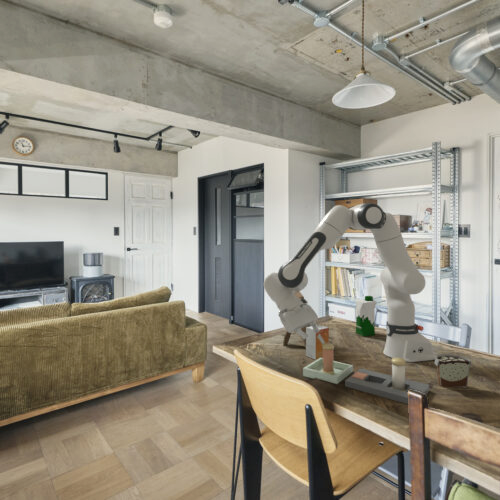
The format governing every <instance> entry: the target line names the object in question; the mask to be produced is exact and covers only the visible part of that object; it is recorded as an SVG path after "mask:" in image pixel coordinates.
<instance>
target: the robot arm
mask: <svg viewBox="0 0 500 500" xmlns="http://www.w3.org/2000/svg"><path fill="white" fill-rule="evenodd" d="M349 229H350V230H353V231H366V230H369V231H370V232H371V233H372V235H373V238H374V241H375V245H376V249H377V251H378V254H379V259H380V260H381V261H382V262H383V263H384V265H385V266H386V267H384V268H383V269H382V270H381V272H380V275H379V277H380V281H381V283H382V285H383V288H384V293H385V298H386V302H387V304H386V305H387V321H386V324H385V325H386V326H385V332H386V333H385V334H386V337H385V338H386V340H385V345H384V349H383V350H382V351H383V354H384V356H386V357H389V358H391V359H392V358H395V357H398V358H403V359H405V360H406V362H407V363H415V362H423V361H424V362H425V361H432V360H433V361H435V359H436V357H437V356H438V355H439V353H437V352H436V351H435V350H434V346H433V343H432V341H430V340H429V339H428V338H427V337H425V335H424V334H422V333H421V332H423V331H424V330H425V329H424V326H422V325H418V324H417V323H415V322H416V319H415V317H416V316H415V315H416V314H415V313H416V310H415V309H416V306H415V304H414V302H413V301H412V297H411V295H418V294H420V293H421V292H422V291H423V290H424V289H425V287H426V279H425V276H424V275H423V274H422V273H421V271H419V269H418V268H417V266H416V265H415V263H414V261H413V260H412V257H411V256H410V254H409V253H408V250H407V247H406V244H405V241H404V238H403V235H402V231H401V229H400V226H399V224H398V221H397V220H396V218H395V217H394V215H393V214H392V213H390V212H385V211H384V210H383V208H382V207H381V206H380V205H378V204H376V203H373V202H367V203H360V204H357V205H354V206H350V207H349V208H348V207H346V206H344V205H341V204H338V205H337V204H336V205H334V206H333V207H332V208H330V210H329V211H328V212H327V213H326V214H325V215H324V216H323V217H322V218H321V220H320V222H318V225H317V226H316V228H315V229H314V231H313V232H312V233H311V235H310V236H309V238H308V239H307V240H306V241H305V242H304V243H303V245H302V246H301V247H300V248H299V249H298V251H297V252H296V253H295V255H294V256H293V257H292V258H290V259H289V260H288V261H286V262H284V263H283V264H282V265H281V266H280V268H279V270H278V272H272V273H270V274H268V275H267V276H266V278H264V281H263V288H264V291H265V292H266V294H267V295H268V297H269V298H270V299H271V301H272V302H274V303H275V305H276V308H277V309H278V317H279V320H280V322H281V324H282V326H283V327H284V329H285V330H286V332H287V331H288V332H289V333H291V334H292V333H293V332H295V333H296V334H297V335H298V336H299V337H302V338H303V339H306V338H307V337H308V335H307V334H306V333H304V332H303V331H302V330H301V328H303V327H305V326H307V325H310V326H312V327H313V329H314V330H313V331H314V332H315V333H318V332H319V331H320V330H319V329H318V327H317V325H318V324H317V322H316V321H317V320H318V319H319V316H318V314H317V313H316V312H315V310H314V309H313V308H312V306H311V305H309V302H308V300H307V299H306V298H304V299H301V298H298V297H296V296H295V295H294V294H295V293H297V292H299V291H300V292H301V291H302V290H304V289H305V288H306V287H307V285H308V283H309V278H308V274H307V273H306V268H307V267H308V265H309V264H310V263H311V261H312V260H313V259H314V258H315V257H316V255H318V253H319V252H321V251H323V250H329V249H333V248H334V247H335V246H336V245H337V244H338V243H339V241H340V240H341V239H342V237H343V236H344V235H345V233H346V231H347V230H349ZM302 338H301V339H302Z"/></svg>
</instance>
